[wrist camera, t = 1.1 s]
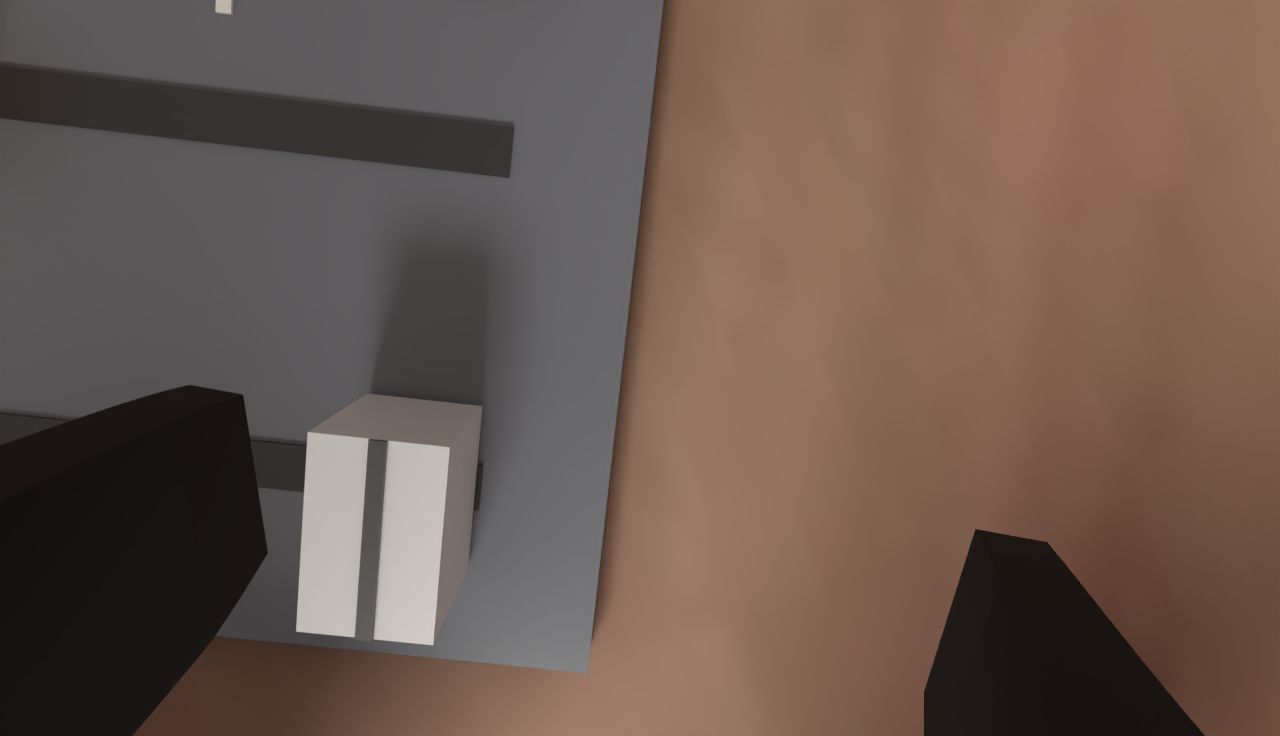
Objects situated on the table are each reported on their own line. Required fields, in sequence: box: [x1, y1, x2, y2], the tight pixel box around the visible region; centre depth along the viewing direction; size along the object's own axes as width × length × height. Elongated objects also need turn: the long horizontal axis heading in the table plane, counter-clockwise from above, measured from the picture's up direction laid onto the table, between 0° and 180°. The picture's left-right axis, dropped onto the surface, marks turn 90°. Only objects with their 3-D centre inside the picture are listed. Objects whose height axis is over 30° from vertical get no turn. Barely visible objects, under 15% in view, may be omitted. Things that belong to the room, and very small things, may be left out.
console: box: [0, 0, 664, 673], centre depth 19 cm, size 15×20×1 cm
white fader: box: [296, 394, 482, 645], centre depth 17 cm, size 4×2×4 cm, turn 173°
